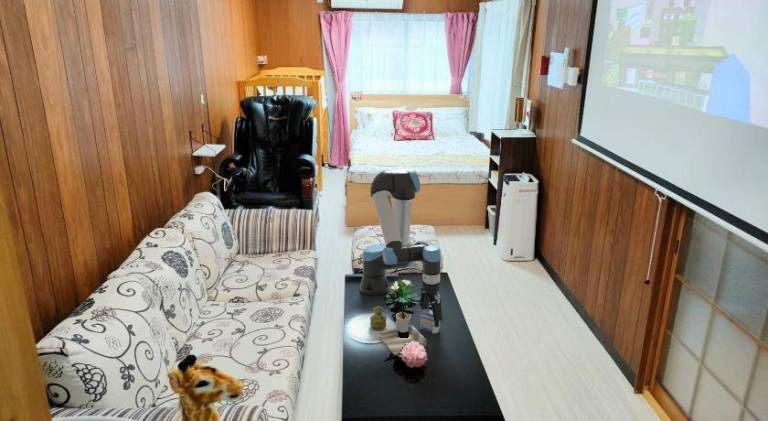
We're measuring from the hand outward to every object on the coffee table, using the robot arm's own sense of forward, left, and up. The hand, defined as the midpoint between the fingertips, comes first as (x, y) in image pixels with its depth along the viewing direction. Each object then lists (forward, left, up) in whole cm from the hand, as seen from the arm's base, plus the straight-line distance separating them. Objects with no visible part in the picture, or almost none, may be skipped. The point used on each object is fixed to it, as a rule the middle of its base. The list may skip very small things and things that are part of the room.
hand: (430, 327), depth 234 cm
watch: (-16, +10, -1) cm, 19 cm away
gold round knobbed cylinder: (-12, -20, -1) cm, 23 cm away
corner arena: (+5, -16, -1) cm, 17 cm away
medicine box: (0, 0, -1) cm, 1 cm away
